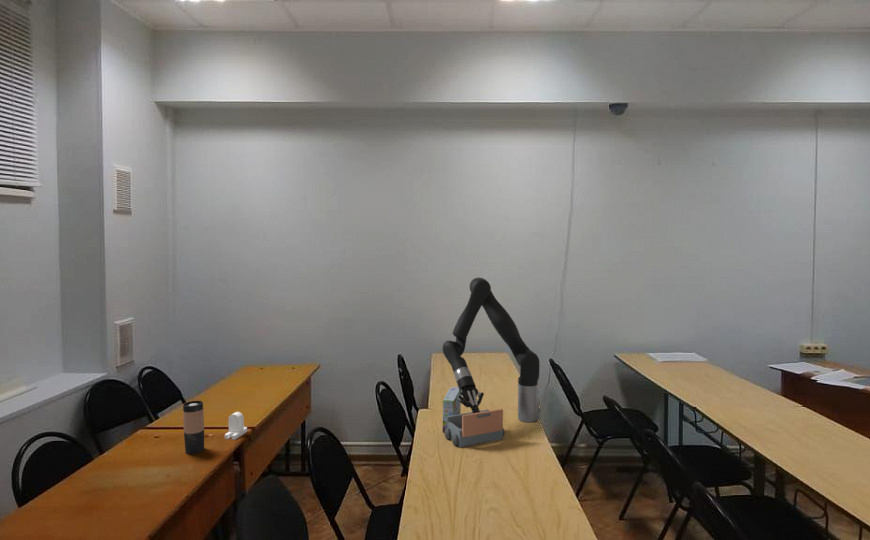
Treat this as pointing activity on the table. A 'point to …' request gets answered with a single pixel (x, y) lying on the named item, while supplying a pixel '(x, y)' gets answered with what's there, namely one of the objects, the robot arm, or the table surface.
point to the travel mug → (193, 427)
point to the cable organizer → (236, 426)
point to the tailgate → (482, 422)
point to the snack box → (451, 404)
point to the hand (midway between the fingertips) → (477, 414)
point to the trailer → (455, 434)
